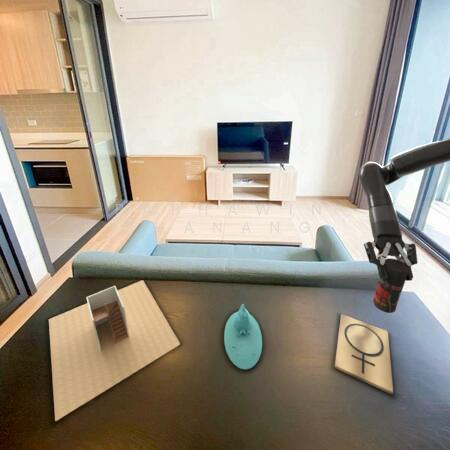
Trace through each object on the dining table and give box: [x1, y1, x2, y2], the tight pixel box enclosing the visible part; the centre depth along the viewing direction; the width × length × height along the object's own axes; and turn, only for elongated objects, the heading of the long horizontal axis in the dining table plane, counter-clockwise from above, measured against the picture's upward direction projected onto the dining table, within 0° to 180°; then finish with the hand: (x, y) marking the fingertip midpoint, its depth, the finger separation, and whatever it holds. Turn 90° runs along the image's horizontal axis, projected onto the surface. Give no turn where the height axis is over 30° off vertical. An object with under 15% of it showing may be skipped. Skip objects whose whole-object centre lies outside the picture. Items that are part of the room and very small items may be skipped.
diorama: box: [223, 303, 263, 370], centre depth 77 cm, size 12×20×9 cm, turn 0°
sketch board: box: [334, 313, 394, 395], centre depth 75 cm, size 14×20×1 cm
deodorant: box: [372, 258, 409, 314], centre depth 72 cm, size 6×6×15 cm
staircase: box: [85, 285, 130, 352], centre depth 77 cm, size 9×11×17 cm
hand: (396, 279), depth 69 cm, fingers closed on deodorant, 6 cm apart
